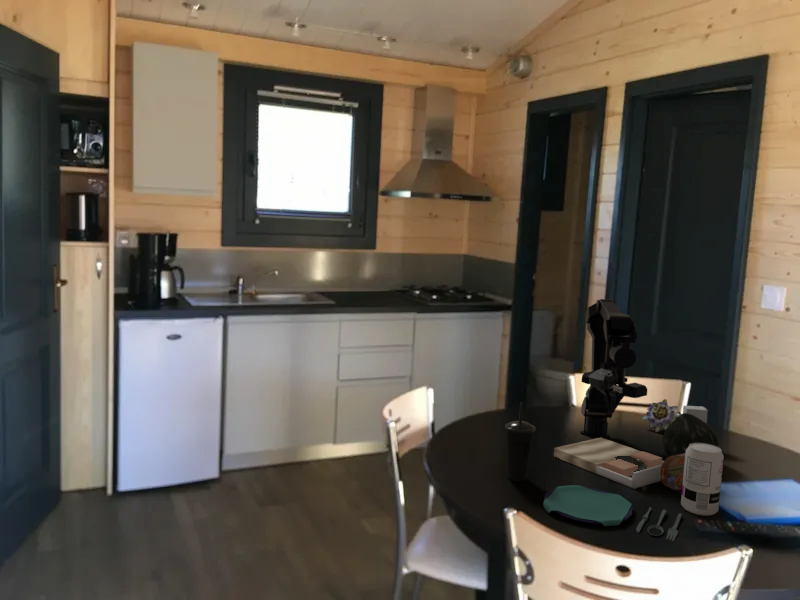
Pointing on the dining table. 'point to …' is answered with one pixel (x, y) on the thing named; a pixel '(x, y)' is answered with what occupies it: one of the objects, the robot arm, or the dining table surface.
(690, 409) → the skincare box
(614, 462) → the near tile
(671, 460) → the snack packet
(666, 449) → the squash
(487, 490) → the dining table surface
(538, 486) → the dining table surface
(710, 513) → the supplement can
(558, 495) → the cutlery set
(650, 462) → the far tile
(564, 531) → the dining table surface
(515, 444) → the drinking cup
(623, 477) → the tray
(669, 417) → the passion flower
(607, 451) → the board
